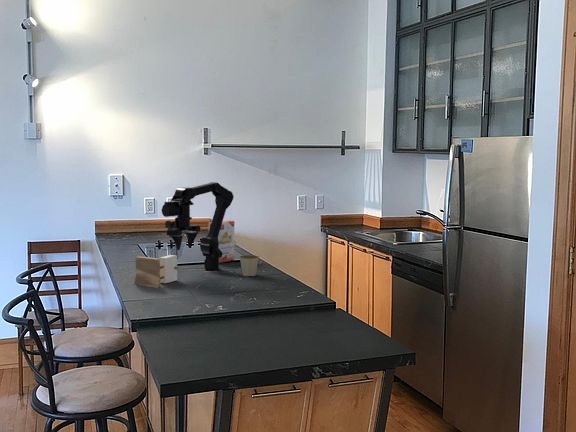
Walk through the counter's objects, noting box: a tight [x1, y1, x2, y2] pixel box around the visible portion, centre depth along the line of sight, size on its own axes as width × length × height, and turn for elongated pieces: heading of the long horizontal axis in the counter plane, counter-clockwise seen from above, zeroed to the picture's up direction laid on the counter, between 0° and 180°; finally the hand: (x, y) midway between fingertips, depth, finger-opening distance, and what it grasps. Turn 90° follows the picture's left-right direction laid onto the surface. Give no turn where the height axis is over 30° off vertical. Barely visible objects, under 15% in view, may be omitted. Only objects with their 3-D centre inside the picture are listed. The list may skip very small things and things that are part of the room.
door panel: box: [159, 254, 179, 284], centre depth 281 cm, size 8×4×11 cm, turn 152°
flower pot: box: [238, 254, 260, 277], centre depth 297 cm, size 9×9×9 cm
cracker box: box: [207, 219, 235, 264], centre depth 331 cm, size 14×6×21 cm, turn 143°
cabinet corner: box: [134, 256, 164, 289], centre depth 279 cm, size 15×14×12 cm
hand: (184, 248), depth 297 cm, fingers open, 8 cm apart
